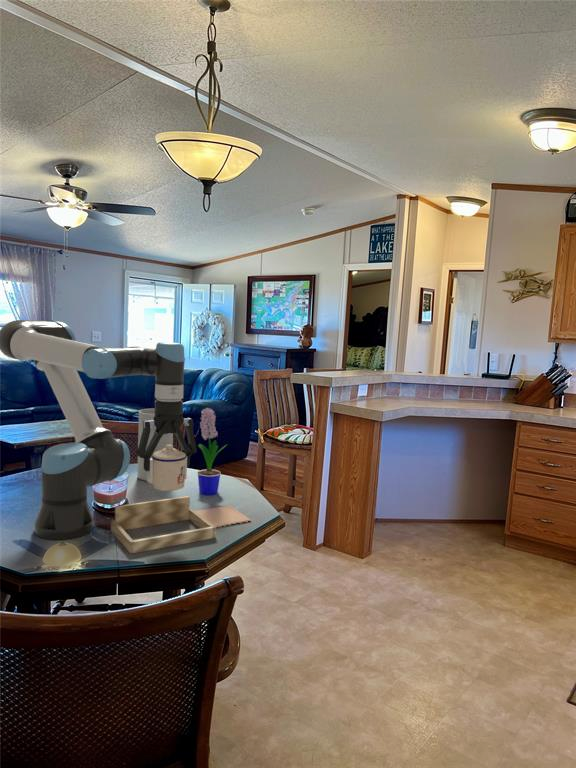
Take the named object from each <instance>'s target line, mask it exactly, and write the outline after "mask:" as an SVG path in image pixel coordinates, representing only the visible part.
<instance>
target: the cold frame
mask: <svg viewBox="0 0 576 768" xmlns="http://www.w3.org/2000/svg"><path fill="white" fill-rule="evenodd" d="M190 500H191V497H190V496H189V495H187V496H179V497H173V498H163V499H157V500H149V501H143V502H136V503H128V504H122V505H115V506H114V519H112V520H111V523H110V531H111V532H112V534H113V535H114V536H115V537H116V539H117V540H118V541H119V542H120V543H121V544H122V545H123V547H124V548H125V549H126V551H127V552H128V553H129V554H130V555H132V554H136V553H142V552H143V553H144V552H146V551H153V550H157V549H158V550H159V549H163V548H168V547H173V546H178V545H179V546H180V545H184V544H190V543H193V542H194V543H195V542H199V541H205V540H210V539H216V537H217V528H216V527H215V526H214V525H212V524H211V523H210V522H208V521H207V520H206V519H204V518H203V517H202V516H201V515H199V514H198V513H197V512H195V511H196V510H194V509H193V508H190V505H191V504H190ZM187 520H189V521H190V522H192V524H194V525H196V527H198V528H196V529H190V530H186V531H184V530H183V531H180V532H179V531H177V532H173V533H168V534H164V535H163V534H162V535H157V536H152V537H144V538H140V539H134V540H133V538H131V536H130V534H128V533H127V532H126V531H127V530H128V531H129V530H134V529H139V528H140V529H141V528H144V527H145V528H146V527H151V526H157V525H164V524H169V523H170V524H171V523H175V522H181V521H182V522H183V521H187Z"/></svg>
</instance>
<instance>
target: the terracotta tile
mask: <svg viewBox="0 0 576 768" xmlns="http://www.w3.org/2000/svg"><path fill="white" fill-rule="evenodd" d="M194 511H195V512H197V513H198V514H199V515H201V516H202V517H203V518H204V519H206V520H207V521H208V522H210V523H211V524H212V525H214V526H215V527H216V529H218V528H223V527H222V526H224V527H227V526H226V525H229V526H232V525H231V524H235V525H237V524H236V523H240V524H243V523H242V522H246V523H249V522H248V521H251V522H252V519H251V518H249V517H248V516H247V515H245V514H243V513H241V512H240V511H238V510H237V509H235V508H234V507H233V506H231V505H224V506H218V507H212V508H211V507H210V508H204V509H198V510H194ZM217 527H218V528H217Z"/></svg>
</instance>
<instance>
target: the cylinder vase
mask: <svg viewBox="0 0 576 768" xmlns="http://www.w3.org/2000/svg"><path fill="white" fill-rule="evenodd" d="M154 416H155V408H144V409H143V408H142V409H140V410H138V430H137V431H138V434H137V435H138V436H137V437H138V439H137V440H138V441H137V448H138V447H139V443H140V439H141V435H142V432H143V421H144V420H146V421H149V420H153V418H154ZM155 430H156V426H155V425H154V424H153V426H152V428H151V429H150V435H149V439H148V443H147V447H148V445H149V443H150V441H151V439H152V437H153V435H154V432H155ZM173 444H174V433H173V434H172V433H168V434H163V436H162V437H161V438H160V440H159V442H158V444H157V446H156V448H155V450H154V452H153V454H154V453H155V452H157V451H160V450H162V449H164V448H166V445H173ZM173 446H174V445H173ZM147 447H146V449H147ZM153 454H152V456H153ZM152 456H151V458H152ZM152 459H153V458H152ZM137 478H138V479H140V480H141V481H145V482H147V471H145V470H144V458H140V457H139V456H138V455H137Z"/></svg>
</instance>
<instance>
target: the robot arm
mask: <svg viewBox="0 0 576 768" xmlns="http://www.w3.org/2000/svg"><path fill="white" fill-rule="evenodd" d="M155 345H156V347H155V348H150V347H149V348H147V347H140V346H125V347H118V348H114V347H113V348H110V347H105V346H104V347H103V346H100V345H99V346H98V345H94V344H91V343H90V344H89V343H86V342H80V341H77V339H76V336H75V334H74V331H73V329H72V328H71V327H70V326H69V325H68V324H66V323H64V322H62V321H59V320H58V321H56V320H51V319H50V320H47V319H46V320H30V319H28V320H25V319H24V320H23V319H16V320H12V321H9V322H8V323H5V324H4V325H3V326H1V328H0V352H1V353H2V354H3V355H4V356H6V357H7V358H10V359H15V360H18V361H24V362H25V361H26V362H27V361H30V360H32V361H33V362H34V365H35V367H36V368H37V370H39V371H41V372H44V374H45V377H46V378H47V380H48V382H49V385H50V387H51V389H52V392H53V394H54V396H55V397H56V400H57V402H58V404H59V406H60V408H61V411H62V414H63V415H64V417H65V419H66V421H67V424H68V427H69V429H70V430H71V433H72V434H73V437H74V440H75V441H74V442H67V443H65V442H64V443H63V442H62V443H58V444H56V445H54V446H51V447H48V448H47V449H46V450H45V451H44V453H43V454H42V461H41V466H40V467H41V505H40V508H39V510H38V511H39V512H38V514H37V516H36V518H35V522H34V534H35V535H36V536H38V537H39V538H42V539H48V540H66V539H67V540H68V539H74V538H78V537H82V536H84V535H87V534H89V533H90V532H92V530H93V529H94V518H93V514H92V512H91V509H90V505H89V503H88V488H89V487H92V486H96V485H99V484H103V483H106V482H111V481H113V480H115V479H117V478H120V477H122V476H123V475H124V474H125V473H126V472H127V470H128V468H129V464H130V462H131V454H130V449H129V446H128V445H127V443H126V442H125V441H124V440H121V439H119V438H115V437H114V434H113V433H112V431H111V430H110V429H108V428H105V427H104V426H103V424H102V422H101V419H100V417H99V416H98V412H97V411H96V408H95V405H94V404H93V402H92V401H91V398H90V396H89V394H88V392H87V389H86V387H85V385H84V383H83V381H82V378H81V377H80V374H79V372H82V373H84V374H85V375H86V376H87V377H89V378H90V379H99V380H104V379H109V378H118V377H130V376H131V377H132V376H149V377H150V376H152V377H154V378H155V379H154V380H155V382H154V383H155V385H154V386H155V387H154V389H155V390H154V398H155V401H154V409H155V416H154V418H153V420H149V421H146V420H144V421H143V432H142V435H141V439H140V443H139V447H138V446H137V452H136V455H137V457H138V456H139V457H140V458H144V470H145V471H147V481H146V482H147V483H149V484H150V485H152V483H153V459H152V458H151V456H152V454H153V452H154V450H155V448H156V446H157V444H158V442H159V440H160V438H161V437H162V436H163V434H168V433H172V434H173V435H175V438H176V440H177V442H178V444H179V446H180V448H181V450H182V452H184V453H185V455H186V458H185V480H187V479H188V478H187V477H188V476H187V475H188V474H187V471H188V470H187V469H188V467H190V465H191V457H192V456H193V454H196V453H197V452H198V448H197V444H196V438H195V434H194V428H193V426H194V419H192V418H190V417H187V418H184V417H183V413H184V402H183V400H182V399H184V372H185V362H186V361H185V360H186V358H185V346H184V345H183V343H179V342H167V341H166V342H165V341H163V342H161V341H160V342H157V343H156V344H155ZM153 424H154V425H155V426H156V430H155V432H154V435H153V437H152V439H151V441H150V443H149V445H148V447H147V443H148V439H149V435H150V429H151V428H152V426H153ZM182 425H183V426H184V427H185V433H186V438H187V442H186V440H185V437H184V435H183V432H182V430H181V426H182ZM146 447H147V449H146Z"/></svg>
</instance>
